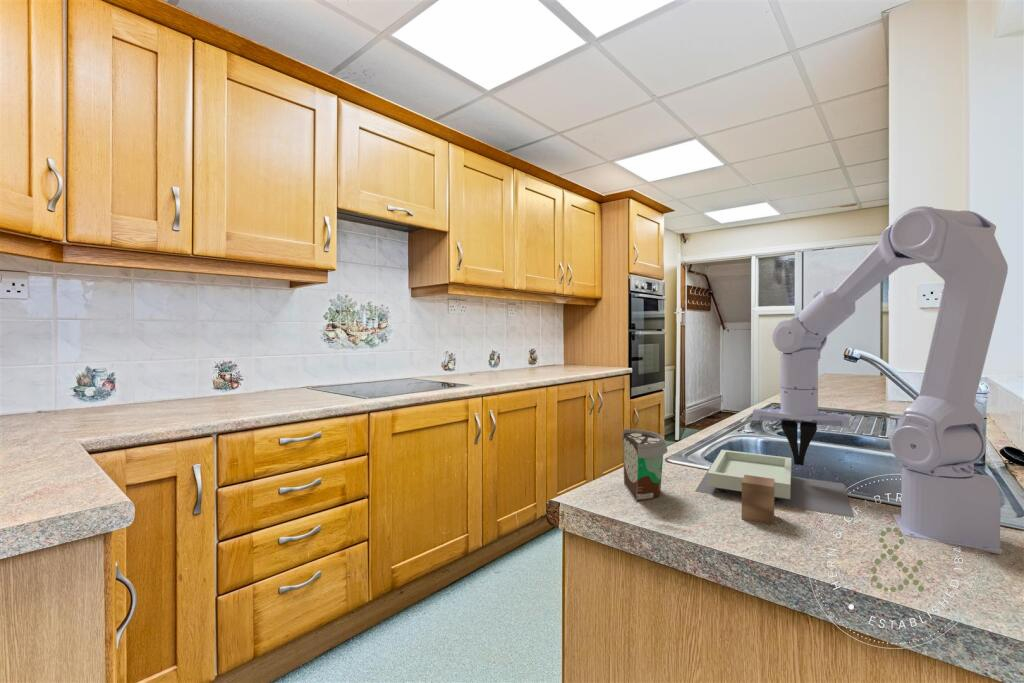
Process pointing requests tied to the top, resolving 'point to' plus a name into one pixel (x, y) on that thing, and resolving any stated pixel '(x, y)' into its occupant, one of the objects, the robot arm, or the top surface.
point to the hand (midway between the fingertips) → (798, 463)
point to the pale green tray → (750, 471)
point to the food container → (643, 463)
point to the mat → (801, 496)
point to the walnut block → (758, 499)
